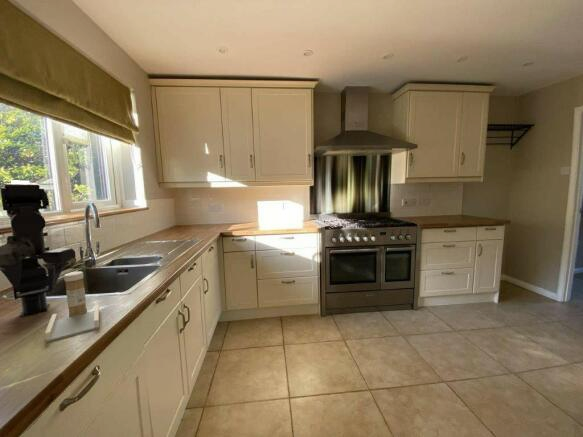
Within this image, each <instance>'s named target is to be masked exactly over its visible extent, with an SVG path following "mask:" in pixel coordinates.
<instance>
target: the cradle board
mask: <svg viewBox="0 0 583 437" xmlns="http://www.w3.org/2000/svg"><path fill="white" fill-rule="evenodd" d="M93 309H94V310H93V311H89V312H88V311H87V312H85V313H83V314H80V315H75V316H68V317H67V316H66V317H64V318H59V319H58V313H53V314H51V317H50V319H49V322H48V325H47V327H46V330H45V332H44V338H45V339H44V340H45V343H46V344H47V343H50V342H54V341H58V340H62V339H65V338H69V337H73V336H76V335H80V334H85V333H89V332H91V331H94V330H98V329H100V305H99V303H97V304H94V308H93Z"/></svg>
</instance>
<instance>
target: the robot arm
mask: <svg viewBox="0 0 583 437" xmlns="http://www.w3.org/2000/svg"><path fill="white" fill-rule="evenodd" d="M0 196H1V197H0V198H1V205H2V210H3V211H6V215H7V216H8V218H10V219H9V220H10V225H11V226H10V227H11V233H12V234H11V235H8V236H7V237H6V243H5V244H2V245H0V272H1V273H2V274H4V276H5V277H6V279H7V280H8V282H9V283H10V285H11V286H12V289H13V296H14V300H18V299H20V302H21V309H22V310H21V313H20V314H19V315H18V317H19V318H23V317H26V316H33V315H37V314H40V313H44V312H48V311H49V308H50V307H51V304H50V303H48V302H47V296H46V295H47V294H46V293H49V292H52V291H54V286H56V284H57V282H58V280H59V278H60V276H61V274H62V271H63V269H64V268H65V266H66V264H67V263H68V262H70V261H72V259H75V258H76V256H77V255H76V251H75V250H74V249H73V248H72V247H67V248H66V247H63V248H61V247H60V248H55V249H52V250H50V246H46V245H45V244H46V242H45V237H48V235H49V233H48V231H47V232H46V231H44V229H45V227H46V220H45V218H44V217H43V216H42V212H40V210H48V209H47V208H48V207H49V206H50V201H49V197H48V196H49V195H48V193H47V191H46V190H45V188H43V187H40V184H39V183H32V181H28V180H8V181H7V182H6V183H4V187H0ZM39 260H42V261H43V262H44V263H43V264H42V265H41V264H40V263H39Z"/></svg>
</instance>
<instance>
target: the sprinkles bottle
mask: <svg viewBox="0 0 583 437" xmlns="http://www.w3.org/2000/svg"><path fill="white" fill-rule="evenodd" d="M63 279H64V282H65V290H66V299H67V306H68V317H71V316H75V315H80V314H84V313H87V312H88V310H87V305H86V304H87V303H86V301H87V300H86V299H87V298H86V292H85V291H86V290H85V286H84V285H85V284H84V272H83V271H72V272H68V273H66V274H64V276H63Z"/></svg>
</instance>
